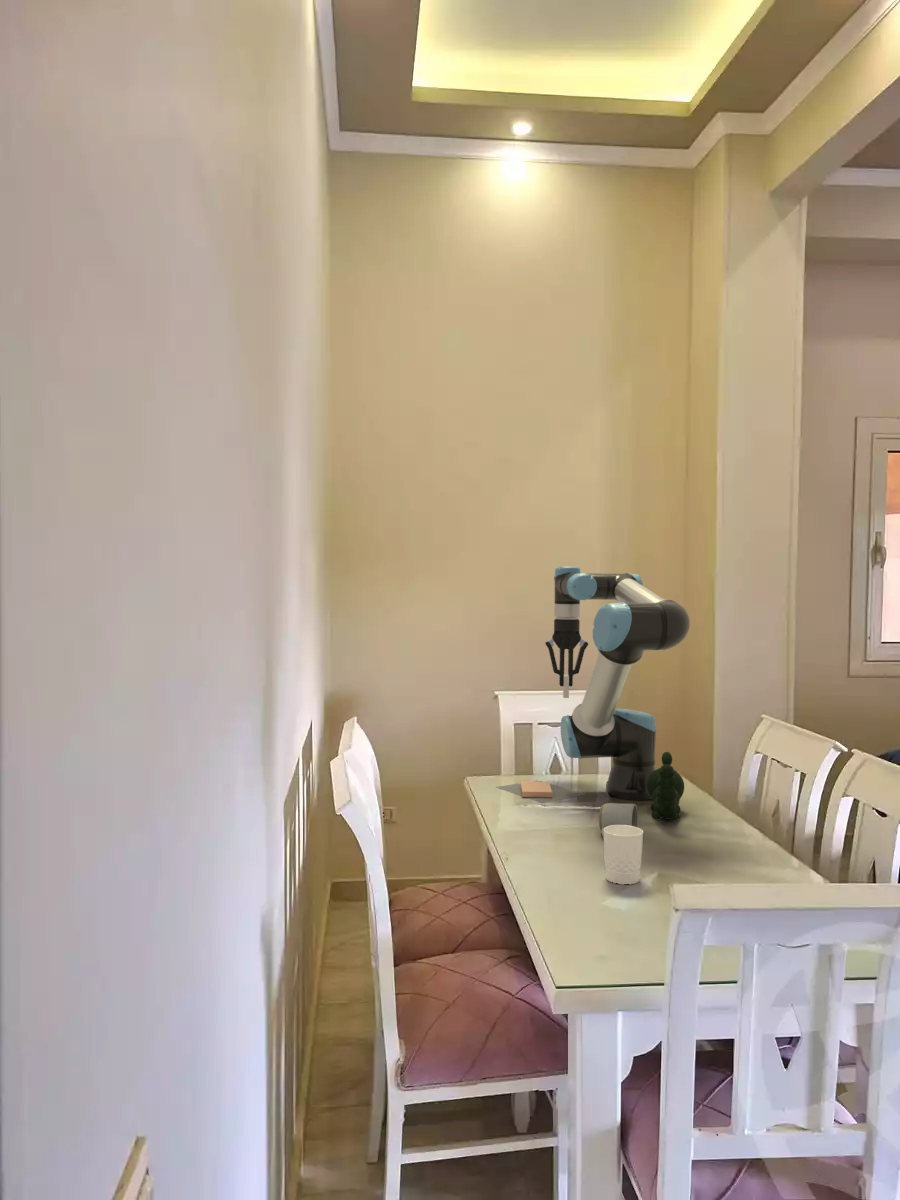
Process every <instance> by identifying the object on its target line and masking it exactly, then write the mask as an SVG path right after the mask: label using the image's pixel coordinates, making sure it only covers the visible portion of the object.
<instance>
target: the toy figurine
mask: <svg viewBox="0 0 900 1200" xmlns="http://www.w3.org/2000/svg"><path fill="white" fill-rule="evenodd" d="M672 763H673V756H672V754H671V752H669V751H665V752H663V753H662V755H661V764H662V765H661V766H660V768H657V769H656V770H655V771H654V772H652V773H651V775H650V776H649V778H648V781H647V789H648V792H649V794H650V796H651V797H652V799H651V801H652V803H651V805H650V807H649V808H650V810H651V813H650V814H651V818H653V819H654V820H658V821H660V820H661V819H667V820H669V819H670V821H673V822H675V821H677V820H679V819H680V817H681V816H680V812H681V810H682V809H681V806H680V800H681V798H682V796H683V794H684V792H685V781H684V779H683V777H682V775H681V774H680V773H679V772H678V771H676V769H674V767H673V766H672Z"/></svg>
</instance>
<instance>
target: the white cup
mask: <svg viewBox="0 0 900 1200" xmlns="http://www.w3.org/2000/svg"><path fill="white" fill-rule="evenodd" d="M603 831H604V838H603V853H604V855H603V858H604V866H605V869H604V870H605V872H604V873H605V879H606V880H607V882H611V883H612V882H613V884H616V883H618V884H617V885H624V884H629V885H635V884H637V883H639V882H640V876H641V874H640V873H641V868H642V855H643V845H644V844H643V842H644V841H643V839H644V830H643V829H642V828H639V827H638V828H637V827H634V826H629V825H610V826H607V827H605V828H604V829H603Z"/></svg>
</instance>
